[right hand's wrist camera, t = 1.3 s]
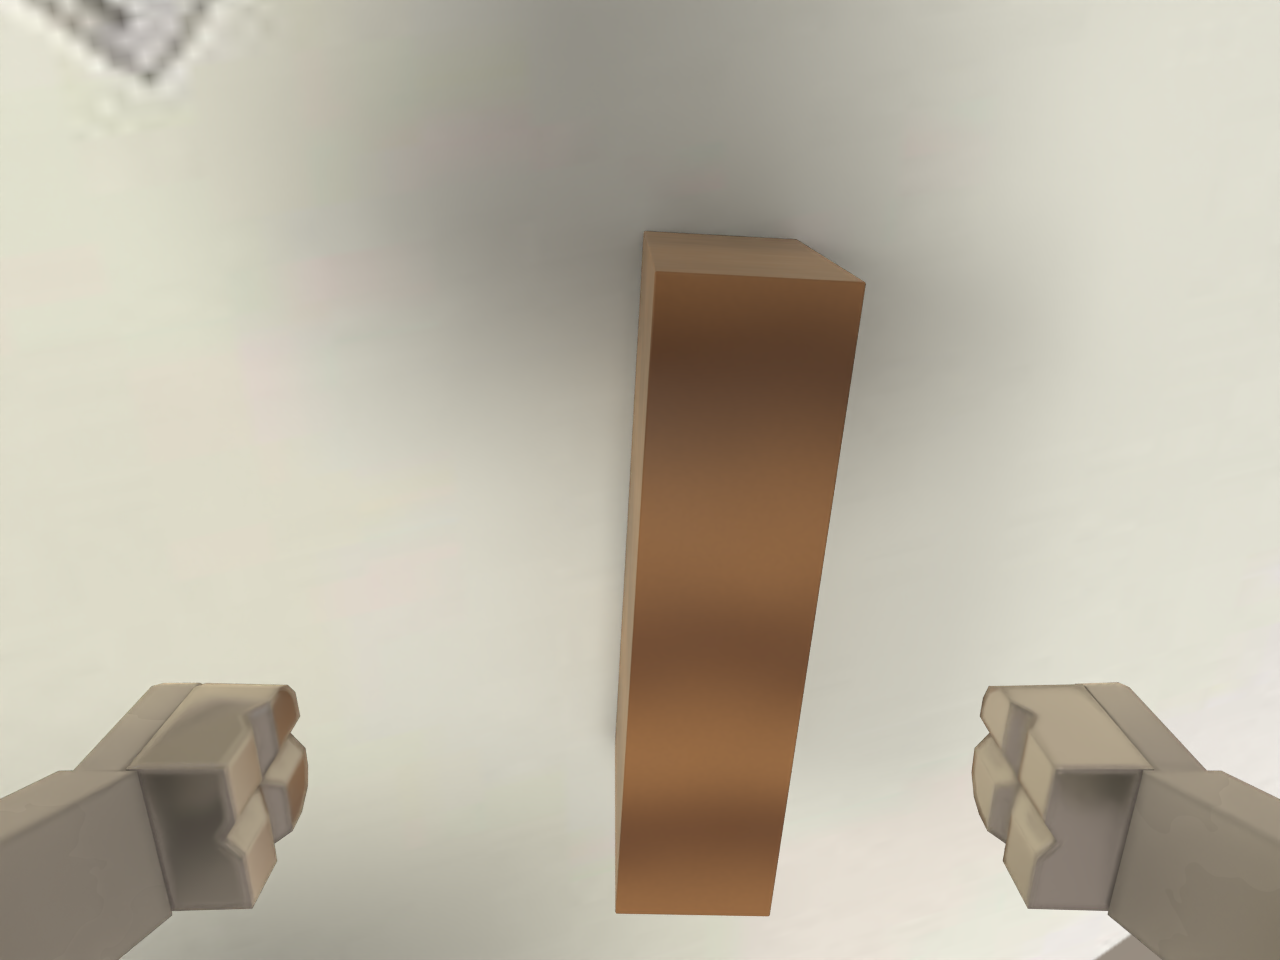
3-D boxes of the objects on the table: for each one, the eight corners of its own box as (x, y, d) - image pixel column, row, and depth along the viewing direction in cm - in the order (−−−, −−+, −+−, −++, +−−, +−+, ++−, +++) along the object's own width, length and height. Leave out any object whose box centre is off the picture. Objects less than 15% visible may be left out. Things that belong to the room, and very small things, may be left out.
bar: (643, 231, 30) (654, 271, 22) (797, 239, 30) (866, 282, 22) (615, 743, 38) (615, 914, 30) (736, 746, 39) (769, 916, 30)
